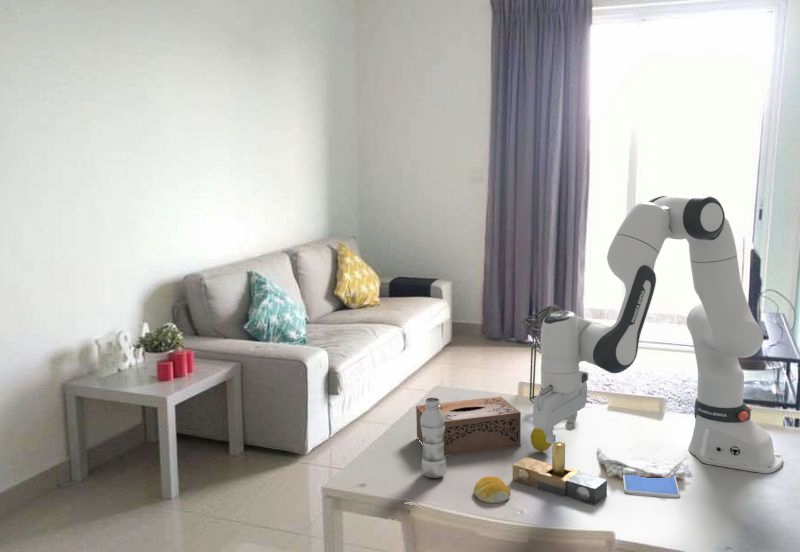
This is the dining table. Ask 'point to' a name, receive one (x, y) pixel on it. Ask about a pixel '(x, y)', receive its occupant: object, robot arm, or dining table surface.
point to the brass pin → (558, 459)
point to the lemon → (539, 440)
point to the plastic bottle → (433, 439)
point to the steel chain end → (580, 488)
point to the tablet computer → (651, 486)
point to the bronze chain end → (539, 473)
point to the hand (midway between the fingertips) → (560, 435)
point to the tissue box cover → (477, 425)
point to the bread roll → (491, 490)
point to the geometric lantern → (547, 311)
